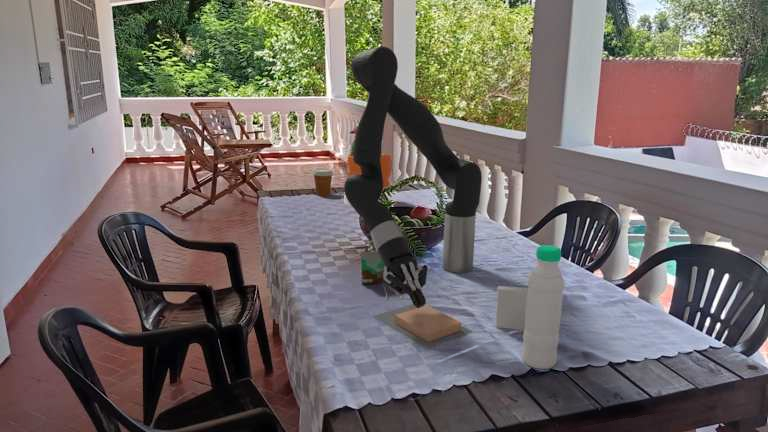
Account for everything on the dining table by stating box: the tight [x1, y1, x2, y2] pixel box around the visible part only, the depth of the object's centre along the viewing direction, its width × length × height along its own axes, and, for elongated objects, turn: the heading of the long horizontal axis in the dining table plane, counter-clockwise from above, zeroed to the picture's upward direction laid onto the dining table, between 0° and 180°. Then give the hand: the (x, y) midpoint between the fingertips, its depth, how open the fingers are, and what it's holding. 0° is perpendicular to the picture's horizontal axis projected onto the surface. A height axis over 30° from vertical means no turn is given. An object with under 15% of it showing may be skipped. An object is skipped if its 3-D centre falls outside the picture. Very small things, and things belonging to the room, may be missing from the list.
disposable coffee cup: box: [312, 168, 334, 197], centre depth 269 cm, size 10×10×12 cm
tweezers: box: [380, 281, 404, 301], centre depth 154 cm, size 18×5×2 cm, turn 14°
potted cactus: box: [343, 126, 393, 207], centre depth 252 cm, size 22×22×35 cm
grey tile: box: [494, 285, 529, 332], centre depth 131 cm, size 2×8×10 cm, turn 83°
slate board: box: [372, 303, 473, 349], centre depth 133 cm, size 20×14×1 cm
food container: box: [360, 239, 385, 286], centre depth 160 cm, size 12×6×10 cm, turn 168°
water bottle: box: [521, 244, 565, 370], centre depth 114 cm, size 7×7×25 cm
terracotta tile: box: [395, 304, 462, 342], centre depth 131 cm, size 2×10×12 cm
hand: (421, 306), depth 132 cm, fingers closed
